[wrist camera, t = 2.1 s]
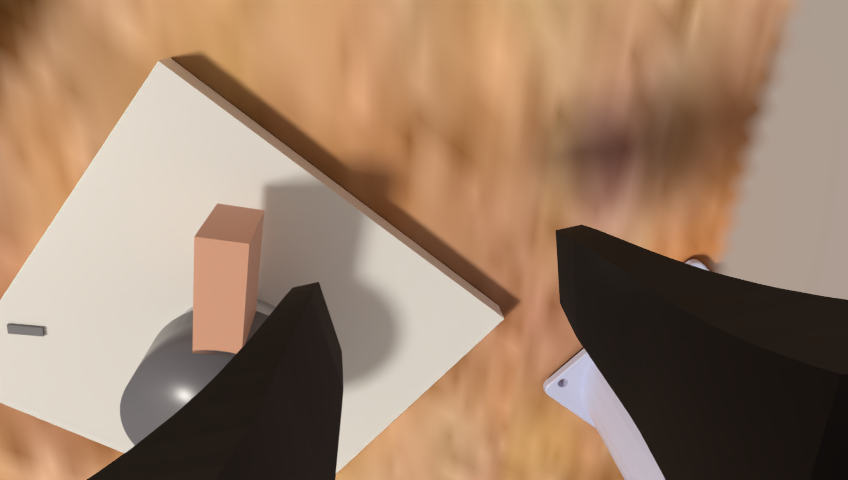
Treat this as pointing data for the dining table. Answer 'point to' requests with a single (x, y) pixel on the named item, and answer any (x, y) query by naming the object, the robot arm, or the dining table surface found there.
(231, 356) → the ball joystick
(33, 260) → the joystick base
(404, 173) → the dining table surface
